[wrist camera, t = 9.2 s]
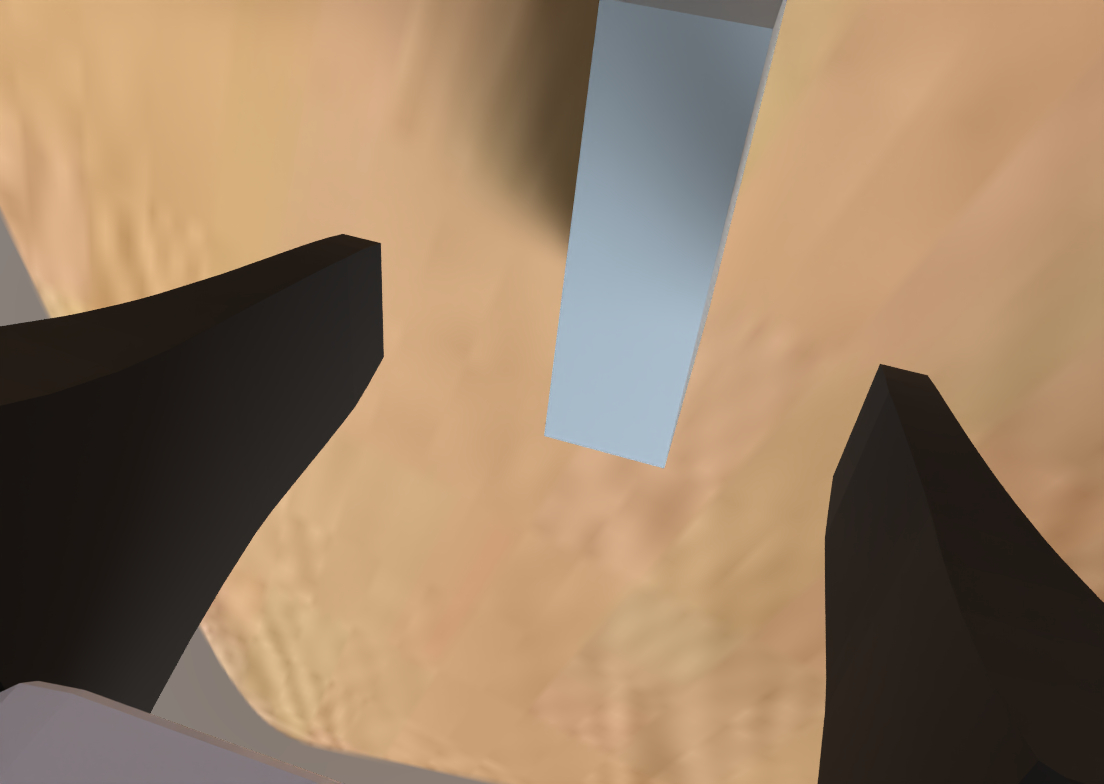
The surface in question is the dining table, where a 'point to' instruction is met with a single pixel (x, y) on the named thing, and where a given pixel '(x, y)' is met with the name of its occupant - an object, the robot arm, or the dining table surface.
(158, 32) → the dining table surface
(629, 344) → the block
